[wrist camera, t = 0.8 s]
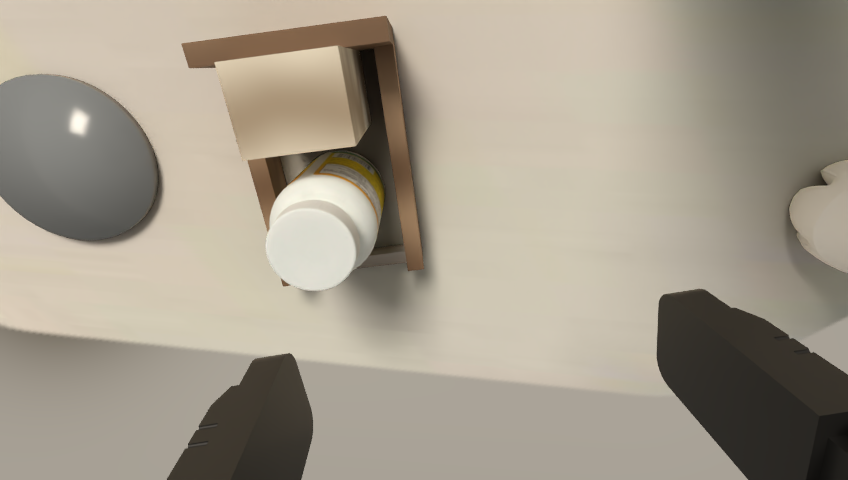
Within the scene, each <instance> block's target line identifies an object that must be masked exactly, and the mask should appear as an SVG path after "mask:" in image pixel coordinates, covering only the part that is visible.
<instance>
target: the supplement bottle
mask: <svg viewBox="0 0 848 480" xmlns="http://www.w3.org/2000/svg"><path fill="white" fill-rule="evenodd" d="M384 201H385V187H384V182H383V179H382V177H381V175H380V173H379V171H378V170H377V169H376V167H375V166H374V165H373V164H372V163H371V162H370V161H369V160H367V159H366V158H364V157H363V156H361V155H359V154H357V153H354V152H350V151H342V150H339V151H331V152H328V153H325V154H323V155H321V156H319V157H317V158H316V159H315V160H314V161H312V162H311V163H310V164H309V165H308V166H307V167H306V168H305V169H304V170H303V171H302V172H301V173H300V174H299V175H298V176H297V177H296V178H295V179H294V180H293V181H292V182H291V183H290V184H289V185H288V186H287V187H286V188H285V189H284V190H283V191H282V192H281V193H280V194H279V196H278V197H277V199H276V200H275V202H274V204H273V207H272V210H271V214H270V221H269V227H270V229H269V231H268V234H267V237H266V244H265V247H266V255H267V258H268V261H269V263H270V265H271V267H272V269H273V270H274V271H275V273H276V274H277V275H278V276H279V277H280V278H281V279H282V280H284V281H285V282H286V283H288V284H290V285H291V286H294V287H296V288H299V289H302V290H307V291H323V290H327V289H331V288H333V287H335V286H337V285H339V284H340V283H342V282H343V281H344V280H345V279H346V278H347V277H348V276H349V275H350V273H351V272H352V270H354V269H356V268H357V267H359V266H360V265H361V264H362V263H363V262H364V261H365V260H366V259H367V258H368V256H369V255H370V253H371V252H372V250H373V248H374V245H375V242H376V239H377V234H378V230H379V225H380V220H381V215H382V210H383V206H384Z"/></svg>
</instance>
